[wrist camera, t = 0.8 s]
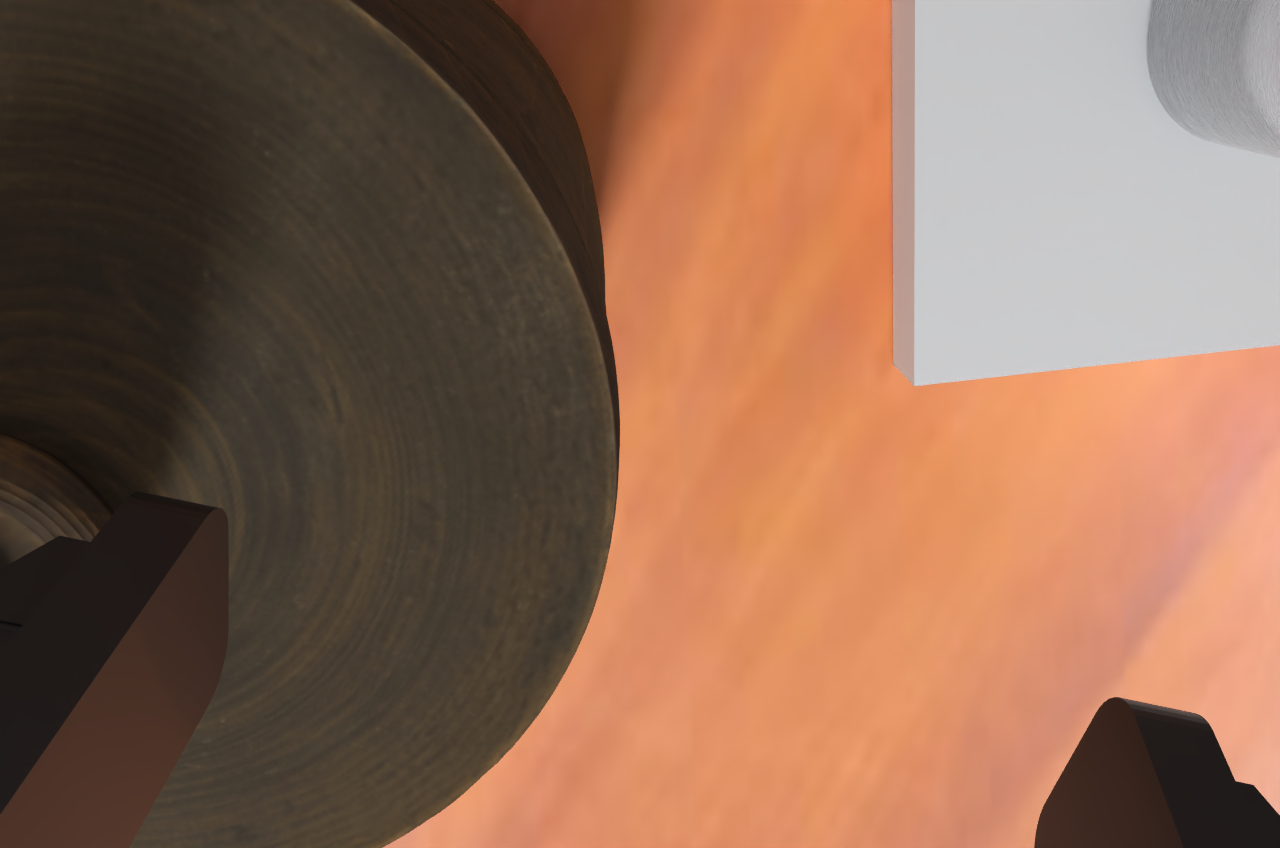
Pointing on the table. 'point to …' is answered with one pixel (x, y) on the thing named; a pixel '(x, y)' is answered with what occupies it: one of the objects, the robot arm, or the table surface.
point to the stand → (1063, 199)
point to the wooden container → (316, 375)
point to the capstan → (1219, 69)
